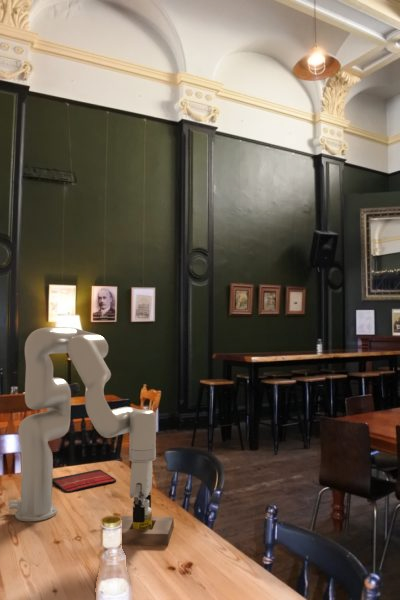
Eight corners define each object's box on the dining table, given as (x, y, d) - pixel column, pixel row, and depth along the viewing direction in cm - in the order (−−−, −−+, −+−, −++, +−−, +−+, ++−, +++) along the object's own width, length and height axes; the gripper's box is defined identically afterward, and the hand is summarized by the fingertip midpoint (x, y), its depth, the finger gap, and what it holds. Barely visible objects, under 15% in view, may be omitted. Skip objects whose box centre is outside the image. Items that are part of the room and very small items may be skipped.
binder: (49, 478, 184) (99, 468, 197) (49, 484, 184) (99, 474, 197) (66, 490, 172) (118, 479, 185) (66, 497, 172) (118, 485, 185)
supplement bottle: (146, 530, 139) (146, 496, 140) (155, 536, 135) (155, 501, 136) (129, 534, 136) (129, 500, 137) (138, 541, 132) (138, 505, 133)
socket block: (109, 544, 130) (109, 532, 130) (120, 526, 142) (120, 516, 142) (167, 545, 129) (167, 534, 129) (173, 527, 141) (173, 517, 141)
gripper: (135, 446, 146) (135, 504, 145) (122, 461, 129) (122, 527, 128) (160, 446, 146) (160, 504, 144) (150, 462, 128) (149, 528, 127)
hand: (142, 515), depth 136 cm, fingers open, 9 cm apart
